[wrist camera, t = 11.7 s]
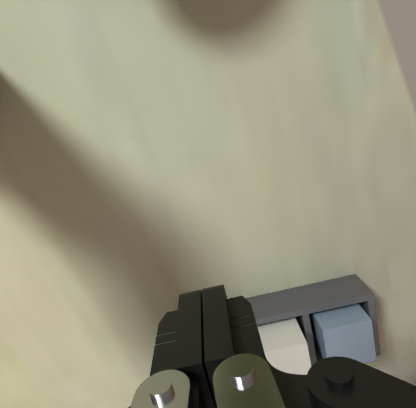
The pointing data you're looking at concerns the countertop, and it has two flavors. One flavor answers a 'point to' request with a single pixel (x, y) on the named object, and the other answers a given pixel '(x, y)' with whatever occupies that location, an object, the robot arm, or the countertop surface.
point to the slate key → (344, 333)
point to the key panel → (315, 306)
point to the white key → (285, 346)
